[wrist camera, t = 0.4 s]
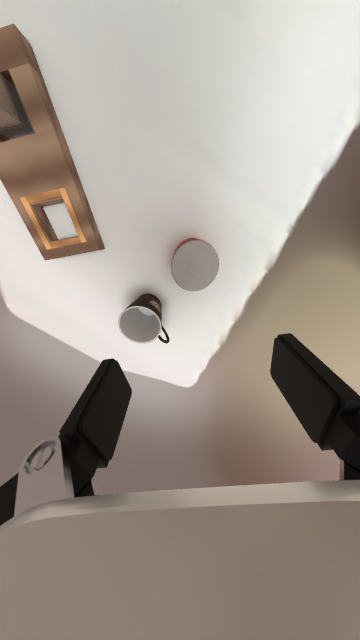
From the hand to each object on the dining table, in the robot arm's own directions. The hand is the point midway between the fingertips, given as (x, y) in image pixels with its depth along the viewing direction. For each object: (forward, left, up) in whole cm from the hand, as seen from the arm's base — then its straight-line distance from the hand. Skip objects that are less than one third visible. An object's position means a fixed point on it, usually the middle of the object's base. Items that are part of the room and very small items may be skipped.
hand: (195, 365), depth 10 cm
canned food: (-2, +2, -30) cm, 30 cm away
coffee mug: (+9, -10, -30) cm, 33 cm away
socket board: (-20, -22, -30) cm, 42 cm away
